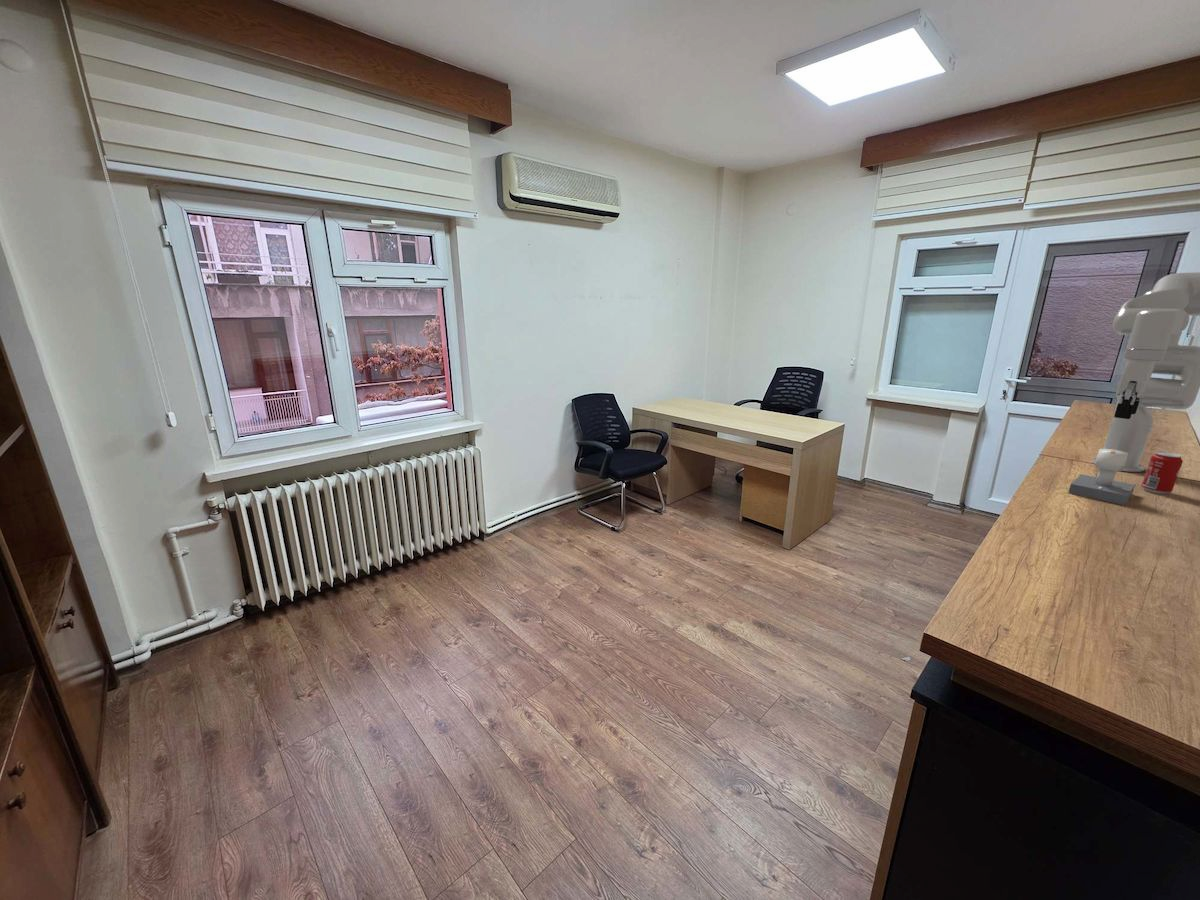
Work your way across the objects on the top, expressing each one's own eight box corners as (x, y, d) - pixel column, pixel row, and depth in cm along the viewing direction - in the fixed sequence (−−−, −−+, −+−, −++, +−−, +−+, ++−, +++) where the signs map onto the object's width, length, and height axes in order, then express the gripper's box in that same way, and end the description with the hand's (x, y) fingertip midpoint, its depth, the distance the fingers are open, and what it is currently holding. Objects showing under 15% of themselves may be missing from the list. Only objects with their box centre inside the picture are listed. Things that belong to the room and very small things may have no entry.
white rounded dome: (1096, 463, 148) (1101, 446, 146) (1124, 468, 143) (1130, 451, 142) (1092, 467, 144) (1097, 450, 143) (1121, 472, 140) (1126, 455, 138)
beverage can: (1177, 495, 145) (1191, 457, 141) (1156, 495, 145) (1169, 457, 142) (1154, 487, 151) (1167, 451, 147) (1134, 487, 151) (1146, 450, 148)
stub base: (1078, 483, 155) (1085, 459, 153) (1132, 494, 146) (1140, 469, 143) (1068, 493, 147) (1075, 468, 144) (1124, 505, 138) (1133, 479, 135)
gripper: (1129, 352, 142) (1111, 409, 147) (1119, 356, 132) (1100, 417, 137) (1167, 354, 136) (1147, 413, 141) (1160, 359, 126) (1139, 422, 131)
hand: (1124, 415), depth 139 cm, fingers open, 9 cm apart
